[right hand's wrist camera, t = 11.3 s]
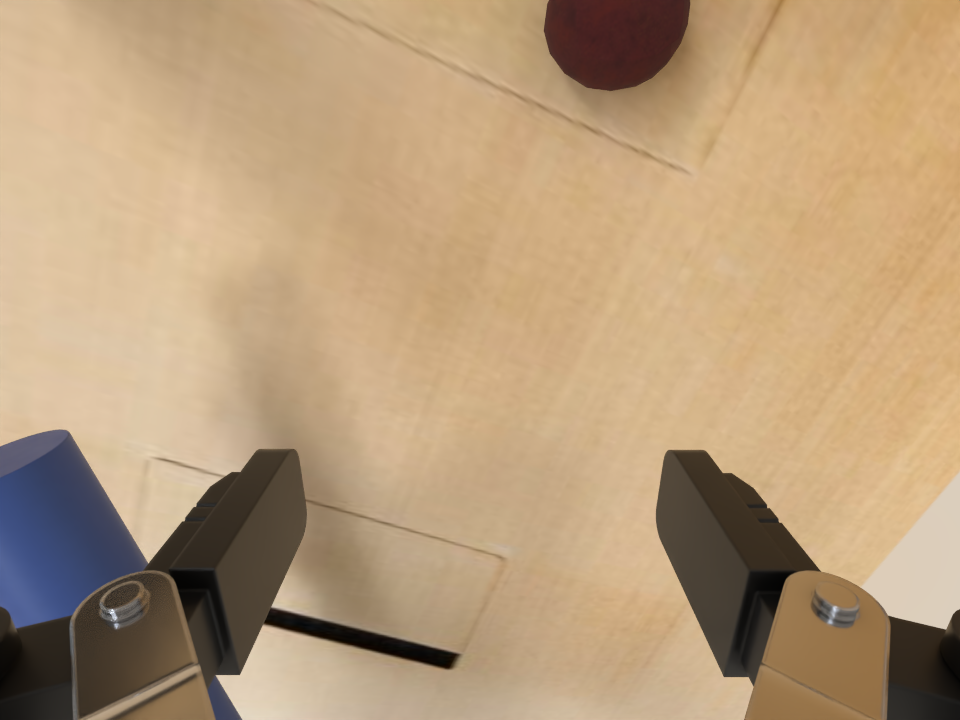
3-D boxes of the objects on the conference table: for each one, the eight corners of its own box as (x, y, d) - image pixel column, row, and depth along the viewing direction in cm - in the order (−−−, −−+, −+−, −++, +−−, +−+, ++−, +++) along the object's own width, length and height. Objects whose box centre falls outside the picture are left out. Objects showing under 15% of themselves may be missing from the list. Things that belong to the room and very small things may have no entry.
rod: (-6, 443, 29) (-125, 514, 23) (95, 419, 28) (-1, 486, 23) (208, 764, 39) (161, 868, 33) (285, 750, 38) (252, 854, 32)
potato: (663, 88, 34) (707, 73, 27) (542, 104, 34) (557, 93, 27) (664, -51, 31) (713, -105, 24) (533, -32, 31) (547, -81, 25)
